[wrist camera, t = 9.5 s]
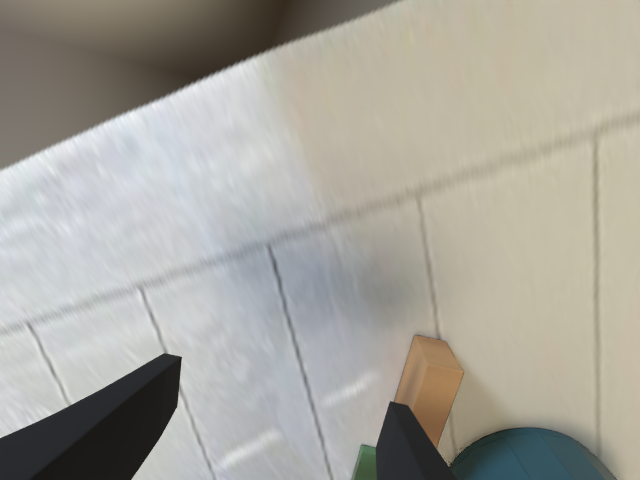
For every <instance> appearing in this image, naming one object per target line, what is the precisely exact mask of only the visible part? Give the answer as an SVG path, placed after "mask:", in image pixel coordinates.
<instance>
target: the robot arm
mask: <svg viewBox="0 0 640 480" xmlns="http://www.w3.org/2000/svg"><path fill="white" fill-rule="evenodd" d="M181 359H182V357H180V356H175V355H170V354H166V353H164V354H162V355H160V356H159V357H157V358H155V359H153V360H152V361H150V362H148V363H146V364H145V365H143V366H141V367H140V368H138V369H136V370H134V371H133V372H131V373H129V374H128V375H126V376H124V377H122V378H121V379H119V380H117V381H115V382H114V383H112V384H110V385H108V386H106V387H105V388H103V389H101V390H99V391H97V392H96V393H94V394H92V395H90V396H88V397H86V398H84V399H82V400H80V401H78V402H76V403H74V404H72V405H71V406H69V407H67V408H65V409H63V410H61V411H59V412H57V413H55V414H53V415H51V416H49V417H47V418H44V419H42V420H40V421H38V422H36V423H34V424H32V425H29V426H27V427H25V428H23V429H20V430H18V431H16V432H14V433H11V434H9V435H7V436H4V437H2V438H0V480H131V479H132V478H133V476H134V475H135V473H136V472H137V471H138V469H139V468H140V466H141V465H142V463H143V462H144V460H145V459H146V458H147V456H148V455H149V453H150V452H151V450H152V449H153V447H154V446H155V444H156V443H157V441H158V440H159V438H160V437H161V435H162V433H163V431H164V430H165V428H166V426H167V424H168V423H169V421H170V419H171V417H172V415H173V413H174V411H175V409H176V408H177V403H178V392H179V381H180V370H181ZM376 473H377V480H458V479H457V478H456V477H455V475H454V474H453V472H452V471H451V470H450V468H449V467H448V465H447V464H446V462H445V461H444V459H443V458H442V457H441V455H440V454H439V452H438V451H437V449H436V448H435V446H434V445H433V443H432V442H431V440H430V438H429V437H428V435H427V434H426V432H425V431H424V429H423V428H422V426H421V425H420V423H419V421H418V420H417V418H416V417H415V415H414V414H413V412H412V411H411V409H410V408H409V406H408V405H405V404H400V403H396V402H391V401H390V403H389V406H388V410H387V413H386V416H385V420H384V423H383V426H382V429H381V433H380V436H379V439H378V443H377V446H376Z"/></svg>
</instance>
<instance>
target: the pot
mask: <svg viewBox="0 0 640 480" xmlns="http://www.w3.org/2000/svg"><path fill="white" fill-rule="evenodd" d="M450 470H451V471H452V472H453V474H454V475H455V477H456V478H457V479H458V480H617V479H616V478H615V477H614V476H613V475H612V474H611V473H610V472H609V470H608V469H607V468H606V467H605V466H604V465H603V464H602V462H601V461H600V460H599V459H598V458H597V457H596V456H595V455H593V454H592V453H591V452H590V451H589V450H588V449H587V448H586V447H584V446H583V445H582V444H580V443H579V442H578V441H576V440H574V439H572V438H571V437H569V436H566V435H564V434H561V433H558V432H554V431H551V430H545V429H538V428H519V429H511V430H505V431H502V432H498V433H495V434H492V435H489V436H487V437H484V438H483V439H481V440H479V441H477V442H475V443H474V444H472V445H471V446H469V447H468V448H467V449H465V450H464V451H463V452H462V453H461V454H460V455H459V456H458V457H457V458H456V459H455V461H454V462H453V464H452V465H451V467H450Z"/></svg>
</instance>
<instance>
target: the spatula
mask: <svg viewBox="0 0 640 480" xmlns="http://www.w3.org/2000/svg"><path fill="white" fill-rule="evenodd" d="M463 374H464V371H463V369H462V368H461V366H460V364H459V363H458V361H457V359H456V358H455V356H454V354H453V353H452V351H451V349H450V348H449V346H448V344H447V343H446V342H445V341H441V340H436V339H431V338H427V337H422V336H417V335H415V336H414V339H413V342H412V345H411V349H410V352H409V355H408V358H407V362H406V365H405V368H404V371H403V375H402V378H401V381H400V384H399V388H398V391H397V394H396V397H395V401H394V402H396V403H400V404H405V405H408V406H409V408H410V409H411V411H412V412H413V414H414V415H415V417H416V418H417V420H418V421H419V423H420V425H421V426H422V428H423V429H424V431H425V432H426V434H427V435H428V437H429V438H430V440H431V442H432V443H433V445H434V446H435V448H437V445H438V442H439V440H440V437H441V434H442V431H443V429H444V426H445V423H446V421H447V418H448V415H449V412H450V410H451V407H452V404H453V401H454V399H455V396H456V393H457V391H458V388H459V385H460V382H461V380H462V377H463ZM352 480H377V473H376V448H373V447H369V446H364V445H362V446H361V449H360V452H359V456H358V459H357V463H356V466H355V470H354V473H353V477H352Z"/></svg>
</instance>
